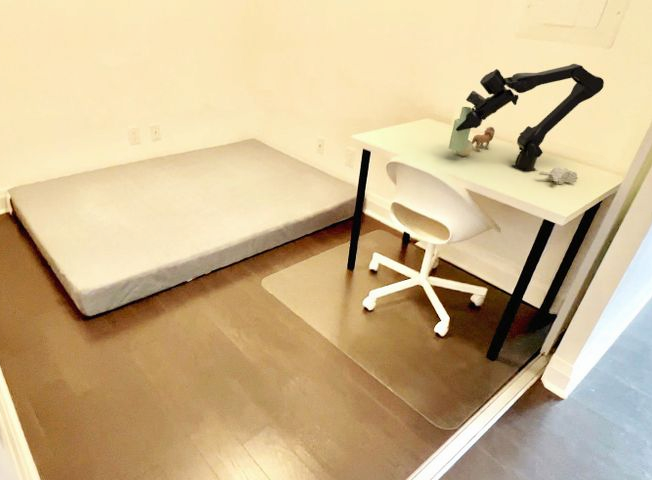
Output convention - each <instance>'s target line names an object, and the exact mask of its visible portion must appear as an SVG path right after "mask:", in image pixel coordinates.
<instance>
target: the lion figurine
mask: <svg viewBox="0 0 652 480" xmlns="http://www.w3.org/2000/svg"><path fill="white" fill-rule="evenodd" d="M495 132H496V131H495V128H494V127H493V126H488V127H486V128H485V130H484V134H475V135H474V136H473V138H472V140H471V142H472V144H473V145H474V144H476V146H475V150H476V151H477V152H480V151H481V150H480V149H481V148H482V149H483V147H484V149H485V150H488V149H489V145H490V143H491V141H493V139H494V135H495ZM485 143H486V145H485V146H483V145H484V144H485ZM479 148H480V149H479Z"/></svg>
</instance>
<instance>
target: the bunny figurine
mask: <svg viewBox="0 0 652 480" xmlns="http://www.w3.org/2000/svg"><path fill="white" fill-rule="evenodd" d="M538 175H539V176H547V179H548V180H549V181H550V182H554V183H555V184H556V185H563V184H565V183H570V184H571V183H573V184H575V183H576V182H577V180H578V178H579V177H578V174H577V172H576V171H573V170H570V169H568V168H561V167H557V166H556V167H553V168H552V170H550V171H549V172H548V171H543V170H540V172H539V173H538Z"/></svg>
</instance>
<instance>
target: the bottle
mask: <svg viewBox="0 0 652 480" xmlns="http://www.w3.org/2000/svg"><path fill="white" fill-rule="evenodd" d="M471 109H472V107H469V106H462V107H461V110H460V115H459V118H456V119H454V122H453V125H452V129H451V130H452V131H451V135H450V139H449V144H448V149H449V150H451V151H455V152H456V151H464V150H465V149H466V145H467V141H468V140H469V137H470V133H471V129H472V128H470V129H465V130H461V131H457V130H456V128H457V127H458V126H459V125H460V124H461V123H462V122H463V121H465V120H466V115H467V114H468V113H469V112H470V111H471Z"/></svg>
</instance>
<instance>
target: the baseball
mask: <svg viewBox="0 0 652 480" xmlns="http://www.w3.org/2000/svg"><path fill="white" fill-rule="evenodd" d="M473 150H474V144H472V140H469V139H468V141H467V145H466V149H465V150H464V151H455V153H456V154H457V155H458V156H460V157H461V156H462V157H465V156H469V155H470V154H471V153H472V151H473Z"/></svg>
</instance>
